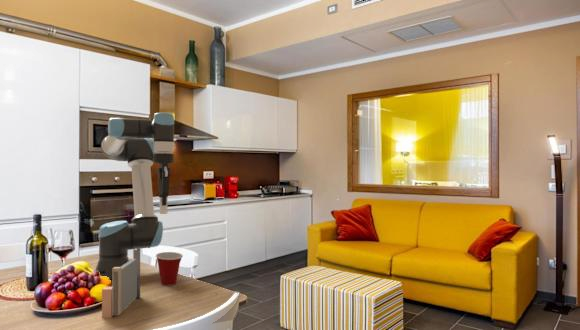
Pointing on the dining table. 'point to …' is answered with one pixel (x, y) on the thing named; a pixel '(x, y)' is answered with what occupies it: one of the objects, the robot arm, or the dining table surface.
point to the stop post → (107, 302)
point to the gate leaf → (124, 286)
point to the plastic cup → (168, 266)
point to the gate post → (137, 256)
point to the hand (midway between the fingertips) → (163, 213)
